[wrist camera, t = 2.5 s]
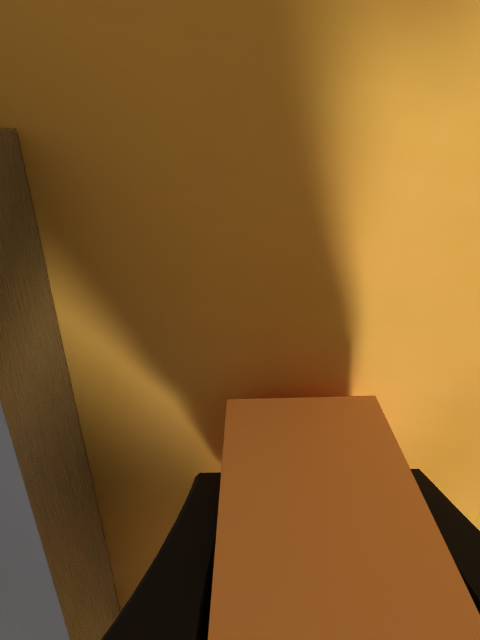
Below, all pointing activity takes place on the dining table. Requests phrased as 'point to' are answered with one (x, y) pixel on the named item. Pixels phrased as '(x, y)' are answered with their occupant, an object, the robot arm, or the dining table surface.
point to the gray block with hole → (41, 448)
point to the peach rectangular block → (327, 531)
